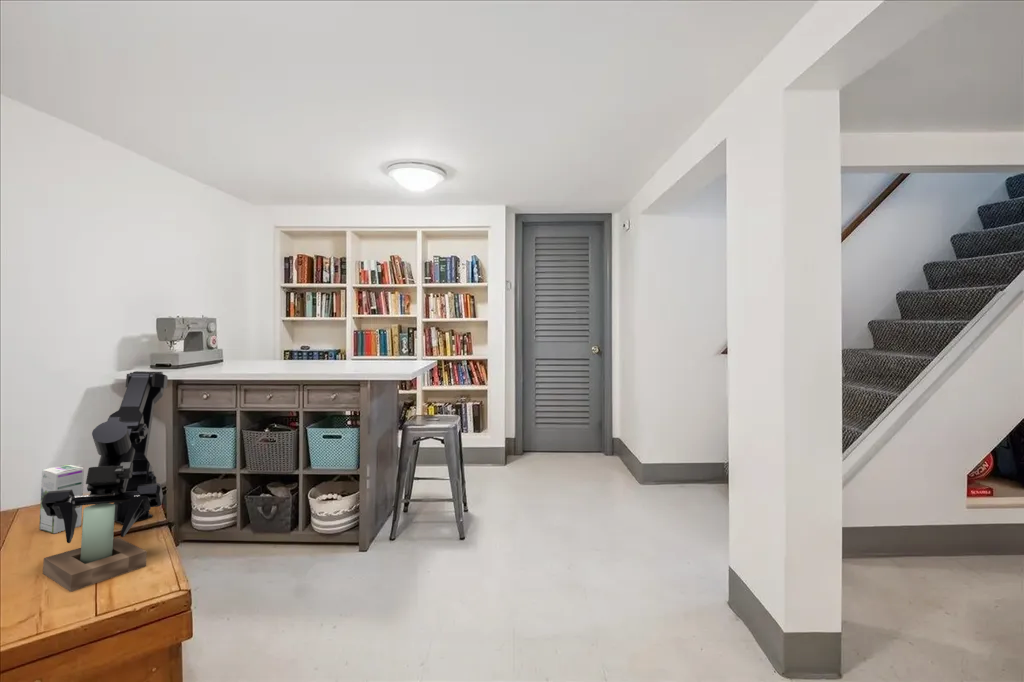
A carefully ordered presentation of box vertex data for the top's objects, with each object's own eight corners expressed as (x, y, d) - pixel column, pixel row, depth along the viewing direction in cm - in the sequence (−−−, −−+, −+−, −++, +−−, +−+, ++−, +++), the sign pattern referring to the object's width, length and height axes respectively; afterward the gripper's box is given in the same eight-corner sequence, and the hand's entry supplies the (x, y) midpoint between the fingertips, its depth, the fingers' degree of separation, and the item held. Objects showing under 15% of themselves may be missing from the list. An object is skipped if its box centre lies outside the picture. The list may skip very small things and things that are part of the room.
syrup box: (82, 525, 115) (86, 466, 115) (52, 534, 109) (56, 472, 109) (67, 521, 117) (71, 463, 117) (37, 530, 111) (41, 468, 111)
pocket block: (116, 553, 102) (117, 537, 102) (145, 568, 97) (146, 551, 97) (42, 575, 92) (43, 558, 92) (70, 594, 86) (71, 575, 86)
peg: (104, 561, 98) (108, 501, 98) (116, 568, 95) (120, 506, 95) (74, 571, 93) (78, 508, 93) (86, 577, 91) (90, 513, 91)
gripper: (48, 451, 93) (20, 527, 84) (163, 446, 102) (150, 514, 93) (60, 479, 100) (35, 553, 91) (167, 472, 109) (155, 539, 99)
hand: (95, 539), depth 93 cm, fingers open, 8 cm apart
